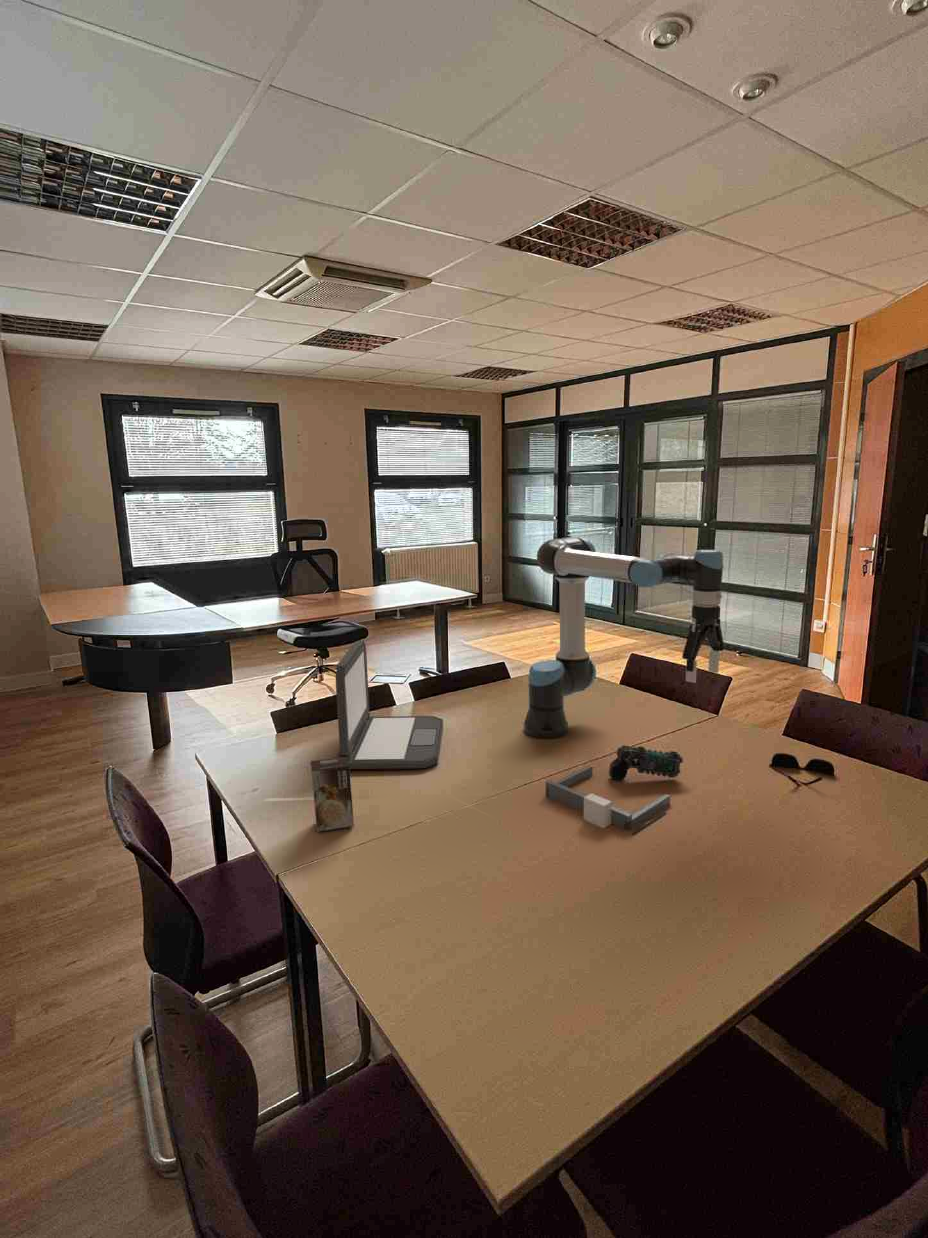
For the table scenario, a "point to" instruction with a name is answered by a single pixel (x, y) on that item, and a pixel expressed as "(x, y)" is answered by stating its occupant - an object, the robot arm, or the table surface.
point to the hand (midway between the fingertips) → (702, 676)
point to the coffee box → (332, 793)
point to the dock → (601, 804)
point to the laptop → (379, 724)
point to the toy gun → (645, 762)
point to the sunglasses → (812, 765)
